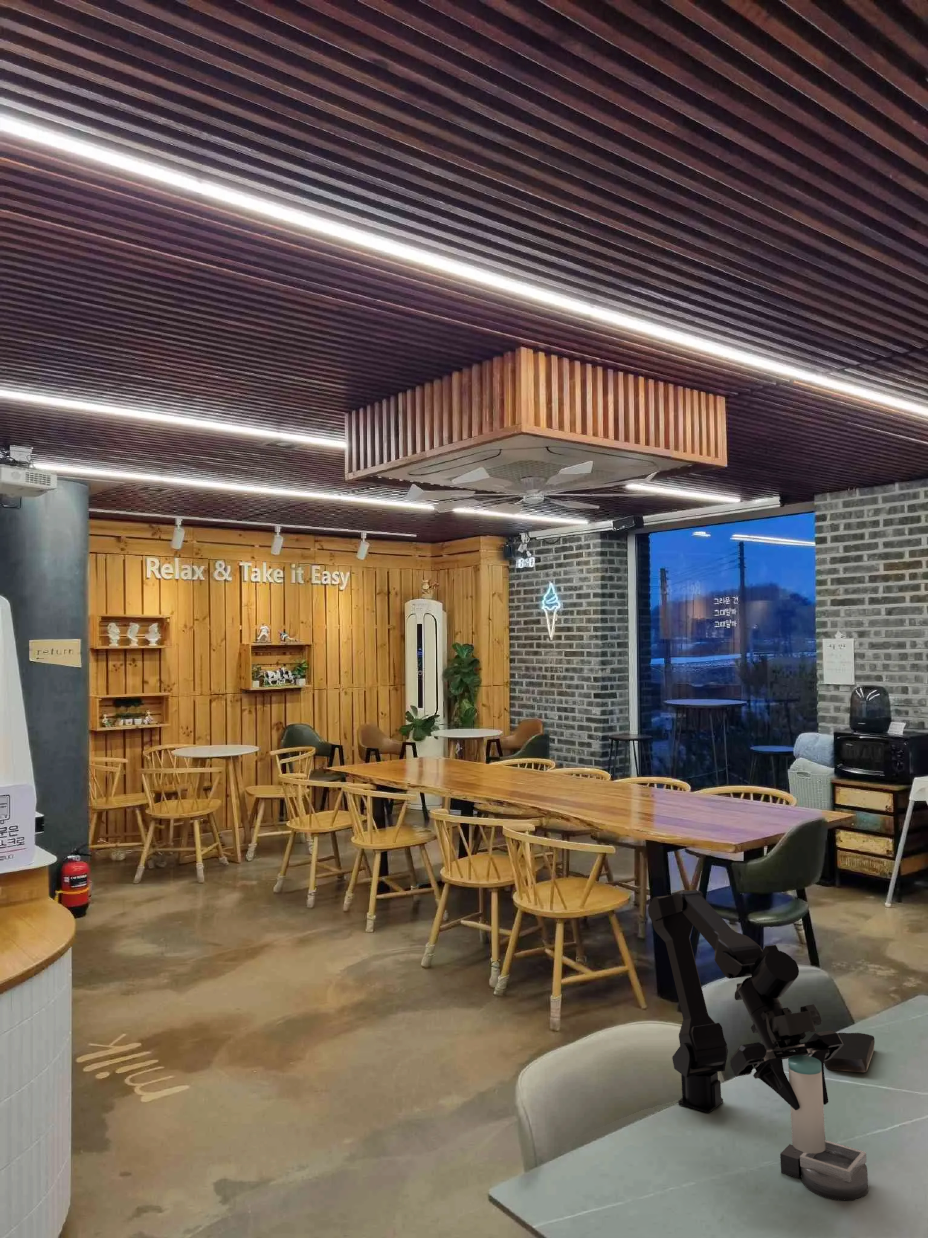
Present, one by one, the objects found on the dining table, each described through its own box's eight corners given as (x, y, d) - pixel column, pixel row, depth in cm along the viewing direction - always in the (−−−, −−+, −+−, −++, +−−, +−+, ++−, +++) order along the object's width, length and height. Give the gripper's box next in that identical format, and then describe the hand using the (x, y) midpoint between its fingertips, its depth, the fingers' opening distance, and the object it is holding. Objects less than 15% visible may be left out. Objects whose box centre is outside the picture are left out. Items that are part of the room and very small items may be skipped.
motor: (773, 1180, 150) (772, 1151, 150) (797, 1155, 157) (796, 1128, 158) (856, 1208, 141) (854, 1177, 142) (877, 1181, 149) (875, 1152, 149)
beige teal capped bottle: (796, 1153, 145) (791, 1067, 146) (789, 1137, 150) (785, 1055, 151) (829, 1154, 144) (824, 1068, 145) (821, 1138, 149) (816, 1055, 150)
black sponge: (866, 1080, 187) (865, 1061, 187) (822, 1072, 191) (821, 1053, 192) (876, 1051, 201) (875, 1034, 201) (835, 1045, 205) (834, 1028, 206)
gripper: (736, 995, 150) (782, 1093, 138) (832, 981, 155) (884, 1074, 144) (712, 1028, 157) (754, 1124, 145) (804, 1013, 162) (852, 1105, 151)
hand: (812, 1106), depth 146 cm, fingers closed on beige teal capped bottle, 5 cm apart
